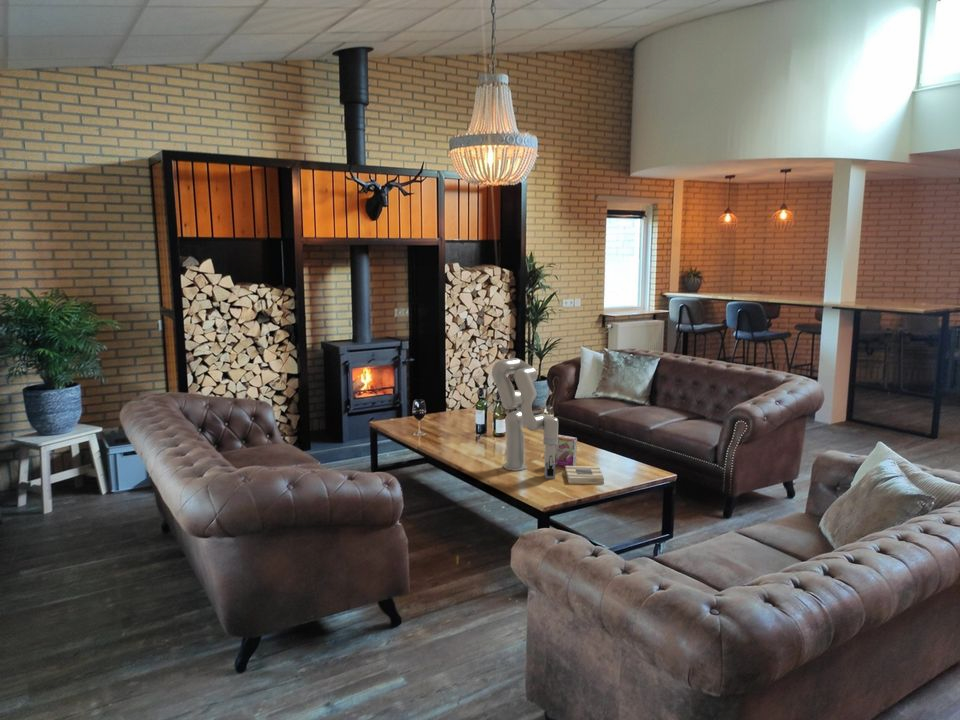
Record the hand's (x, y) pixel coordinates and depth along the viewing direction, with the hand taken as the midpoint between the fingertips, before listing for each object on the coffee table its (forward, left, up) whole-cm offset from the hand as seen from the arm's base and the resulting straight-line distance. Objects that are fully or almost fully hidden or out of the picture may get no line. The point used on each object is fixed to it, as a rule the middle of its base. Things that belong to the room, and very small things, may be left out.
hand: (549, 473), depth 375 cm
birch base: (0, +18, -2) cm, 18 cm away
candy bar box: (-20, +10, -2) cm, 22 cm away
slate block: (0, 0, -2) cm, 2 cm away
